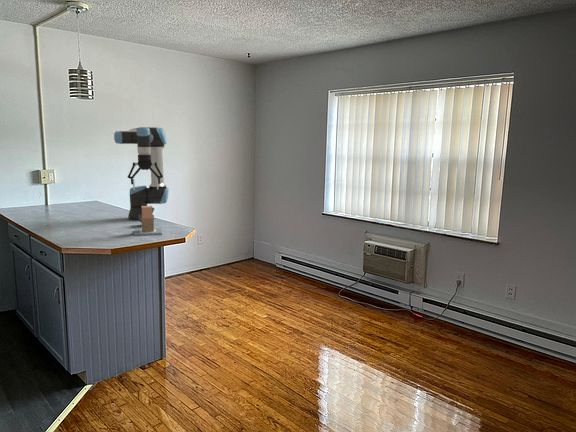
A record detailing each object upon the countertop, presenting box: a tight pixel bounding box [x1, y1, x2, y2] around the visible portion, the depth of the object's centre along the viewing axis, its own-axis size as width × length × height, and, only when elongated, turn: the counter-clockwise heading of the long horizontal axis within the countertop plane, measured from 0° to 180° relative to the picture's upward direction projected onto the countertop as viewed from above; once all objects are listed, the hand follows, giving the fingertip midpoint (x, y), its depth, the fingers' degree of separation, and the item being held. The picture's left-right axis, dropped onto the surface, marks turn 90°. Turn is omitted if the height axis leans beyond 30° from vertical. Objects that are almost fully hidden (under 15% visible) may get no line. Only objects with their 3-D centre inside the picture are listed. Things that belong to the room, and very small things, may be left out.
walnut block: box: [140, 217, 155, 232], centre depth 272 cm, size 7×7×8 cm
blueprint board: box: [133, 227, 163, 237], centre depth 272 cm, size 16×16×1 cm
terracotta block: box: [142, 205, 153, 219], centre depth 270 cm, size 6×6×7 cm
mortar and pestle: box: [138, 206, 155, 224], centre depth 294 cm, size 11×9×12 cm
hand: (146, 189), depth 268 cm, fingers open, 13 cm apart
